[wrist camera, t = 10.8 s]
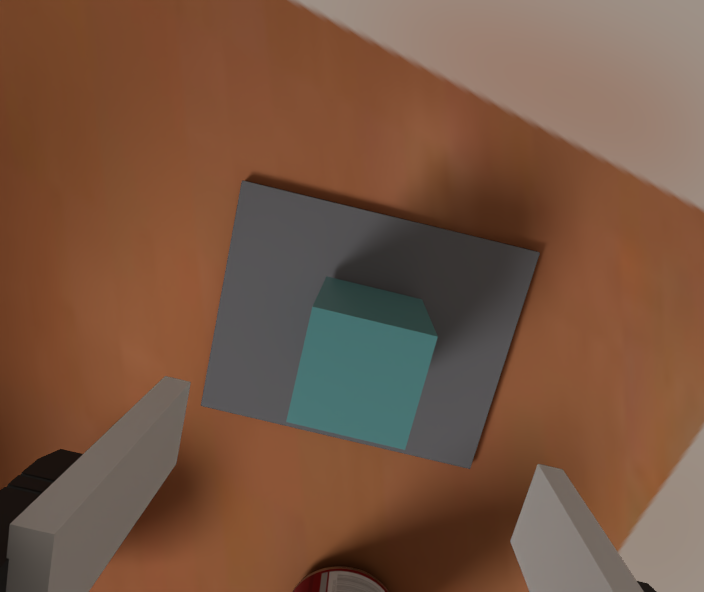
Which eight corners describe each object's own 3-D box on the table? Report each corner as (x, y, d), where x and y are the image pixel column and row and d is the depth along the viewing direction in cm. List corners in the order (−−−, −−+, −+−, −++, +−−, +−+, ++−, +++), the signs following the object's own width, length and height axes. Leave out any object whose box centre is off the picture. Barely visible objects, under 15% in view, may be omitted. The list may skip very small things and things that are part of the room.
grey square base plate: (203, 402, 30) (153, 467, 23) (244, 180, 27) (201, 180, 20) (468, 464, 30) (496, 547, 23) (536, 251, 27) (592, 275, 20)
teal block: (305, 366, 28) (286, 421, 22) (326, 276, 27) (312, 306, 21) (397, 388, 28) (405, 449, 22) (422, 299, 27) (437, 336, 21)
